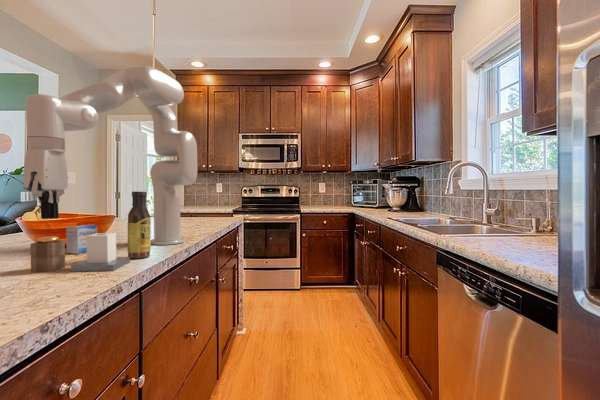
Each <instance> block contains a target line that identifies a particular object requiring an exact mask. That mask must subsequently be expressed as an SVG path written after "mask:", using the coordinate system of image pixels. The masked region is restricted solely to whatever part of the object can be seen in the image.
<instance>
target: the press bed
mask: <svg viewBox="0 0 600 400" xmlns="http://www.w3.org/2000/svg"><path fill="white" fill-rule="evenodd" d="M130 263H131V258H130V257H128V256H116V259H115V260H113V261H110V262H108V263H87V259H84V260H82V261H79V262H76V263H74V264H72V265H70V272H71V271H76V272H109V271H110V272H112V271H116V270H117V269H119V268H121V267H124V266H125V265H128V264H130Z"/></svg>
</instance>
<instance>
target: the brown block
mask: <svg viewBox="0 0 600 400" xmlns="http://www.w3.org/2000/svg"><path fill="white" fill-rule="evenodd" d="M65 241H66V240H60V239H59V241H57V242H51V243H37V241H36V242H32V243H30V273H49V272H51V273H52V272H55V271H57V270H61V269H63V268H65V267H66V247H65V245H66V244H65V243H66V242H65Z"/></svg>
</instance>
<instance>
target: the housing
mask: <svg viewBox="0 0 600 400" xmlns="http://www.w3.org/2000/svg"><path fill="white" fill-rule="evenodd" d="M116 257H117V233H116V232H105V233H104V232H103V233H102V232H101V233H100V232H99V233H98V232H97V233H96V234H92V235H88V236H87V252H86V260H87V263H108V262H110V261H113V260H115V259H116Z"/></svg>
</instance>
